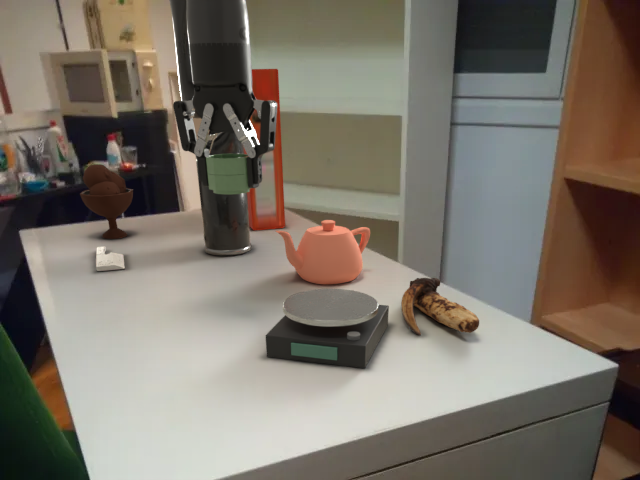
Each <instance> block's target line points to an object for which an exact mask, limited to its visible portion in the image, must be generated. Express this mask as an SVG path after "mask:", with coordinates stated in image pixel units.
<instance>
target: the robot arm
mask: <svg viewBox="0 0 640 480" xmlns="http://www.w3.org/2000/svg"><path fill="white" fill-rule="evenodd" d="M169 6H170V12H171V19H172V27H173V37H174V46H175V57H176V66H177V76H178V85H179V86H178V87H179V91H180V92H179V94H180V97H181V98H180V100H175V101H174V102H173V103H172V107H173V108H172V109H173V112H174V117H175V122H176V126H177V131H178V136H179V140H180V146H181V149H182V150H183V151H184V152H189V153H191V154H193V155H194V156H195V163H196V171H197V172H196V173H197V181H198V191H199V199H200V209H201V220H202V228H203V240H204V252H206V253H207V254H210V255H213V256H237V255H242V254H246V253H248V252H250V251H251V250H252V242H251V231H250V226H249V214H248V199H247V193H243V194H216V193H213V190H210V189H209V187H208V178H207V168H206V157H205V156H208V155H213V154H228V153H239V154H244V149H245V151H246V153H247V155H248V156H249V158H247V174H248V186H249V188H257V187H259V183H261V182H262V179H263V176H262V156H263V155H264V154H265V153H268V152H270V151H273V150H274V148H275V136H276V120H277V103H276V101H274V100H269V101H263V100H256V98H255V96H254V94H253V90H252V69H253V68H252V66H253V65H252V51H251V50H252V49H251V47H252V46H251V33H250V22H249V21H250V18H249V17H250V16H249V12H248V6H247V0H169ZM255 109H256V110H257V114H258V117H259V118H260V119H261V126H260V144H259V142H258V140H257V137H256V132H255V130H254V128H253V126H252V123H251V121H250V118H251V116H252V114H253V112H254V110H255ZM194 120H200V125H199V127H198V130H197V132H196V128H195V127H196V126H195V122H194ZM248 128H249V129H248Z"/></svg>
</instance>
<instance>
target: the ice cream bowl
mask: <svg viewBox="0 0 640 480" xmlns="http://www.w3.org/2000/svg"><path fill="white" fill-rule="evenodd" d="M82 180H83V184H85V186H86V188H87V189H85V190H83V191H81V192H80V193H79V196H80V198H81V200H82V202H83V203H84V205H85V206H86V208H88V209H89V210H90V211H92V213H95V214H96V215H97V216H101V217H103V218H105V219H106V220H107V222H108V229H107V230H105V231H104V232H103V233H102V235H101V238H103V239H106V240H117V239H123V238H126V237H128V233H127V232H126V231H125V230H124V229H121V228H119V227H118V224H117V223H118V222H117V219H118V217H119V216H121V215H122V214H124V213H125V212H126V211H127V209H129V207H130V205H131V204H132V202H133V197H134V188H133V189H132V188H128V187H127V186H126V180H125V179H124V177H122V176H121V175H120V174H118V173H117V172H116V171H115V172H114V171H112V170H110V169H109V168H108V167H106V166H105V165H103V164H98V163H95V164H91V165H89V166H87V167H86V168H85V170H84V171H83V175H82Z"/></svg>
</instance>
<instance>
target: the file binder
mask: <svg viewBox="0 0 640 480" xmlns="http://www.w3.org/2000/svg"><path fill="white" fill-rule="evenodd" d="M279 80H280V79H279V69H278V68H252V90H253V94H254V96H255V98H256V100H263V101H269V100H274V101H276V103H277V120H276V136H275V148H274V150H273V151H270V152H268V153H265V154H264V155H263V156H262V176H263V179H262V182H261V183H259V187H257V188H251V189H250V191H249V192H247V199H248V214H249V228H250V229H251V230H252V231H263V230H275V229H284V228H286V213H285V211H286V210H285V191H284V190H285V189H284V172H283V171H284V170H283V149H282V126H281V125H282V124H281V123H282V122H281V107H280V106H281V101H280V82H279ZM250 121H251V123H252V126H253V128H254V130H255V132H256V137H257V140H258V142H259V144H260V126H261V119H260V118H259V117H258V114H257V110H256V109H255V110H254V112H253V114H252V116H251V118H250ZM248 129H249V128H248ZM244 154H247V153H246V151H245V149H244Z"/></svg>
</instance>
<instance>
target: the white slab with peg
mask: <svg viewBox="0 0 640 480" xmlns="http://www.w3.org/2000/svg"><path fill="white" fill-rule="evenodd" d="M106 251H107V250H106V246H105V245H104V246H96V252H95V253H96V256H95V269H96V272H102V271H114V270H125V269H126V268H125V260H124V259H125V258H124V254H122V253H116V252H112V251H110V252H109V253H106Z"/></svg>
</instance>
